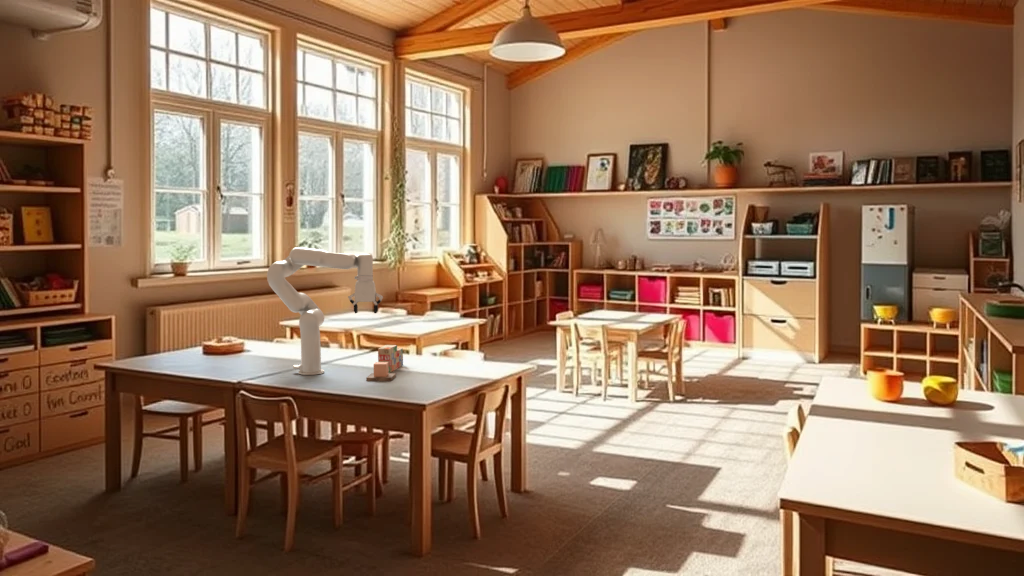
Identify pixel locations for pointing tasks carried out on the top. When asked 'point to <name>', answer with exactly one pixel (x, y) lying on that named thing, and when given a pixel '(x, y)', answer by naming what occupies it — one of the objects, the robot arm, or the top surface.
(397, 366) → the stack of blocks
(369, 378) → the base plate
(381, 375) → the reddish brown cube
